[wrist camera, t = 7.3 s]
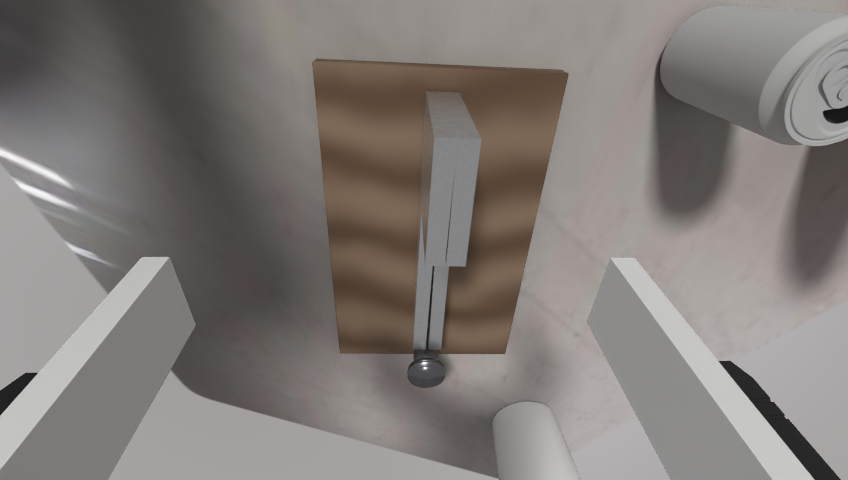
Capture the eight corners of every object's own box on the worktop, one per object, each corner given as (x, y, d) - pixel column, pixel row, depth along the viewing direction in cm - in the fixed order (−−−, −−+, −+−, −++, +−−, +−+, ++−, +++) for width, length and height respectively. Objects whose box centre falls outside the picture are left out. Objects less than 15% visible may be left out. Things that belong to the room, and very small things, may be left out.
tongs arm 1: (424, 326, 41) (429, 415, 33) (412, 326, 41) (414, 415, 33) (442, 91, 29) (458, 138, 20) (425, 91, 29) (434, 137, 20)
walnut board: (316, 58, 29) (312, 62, 28) (561, 69, 30) (568, 73, 29) (341, 342, 45) (339, 353, 43) (502, 343, 46) (504, 353, 44)
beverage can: (680, 115, 32) (806, 177, 22) (638, 57, 30) (757, 96, 20) (759, 51, 30) (940, 86, 20) (720, -19, 27) (904, -19, 17)
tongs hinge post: (440, 349, 43) (443, 388, 39) (406, 349, 43) (407, 388, 39) (442, 325, 42) (446, 363, 37) (407, 324, 41) (408, 363, 37)
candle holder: (511, 388, 50) (538, 491, 40) (574, 407, 53) (614, 508, 43) (472, 431, 55) (487, 533, 45) (532, 446, 57) (559, 546, 47)
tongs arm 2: (438, 326, 41) (447, 415, 33) (427, 326, 41) (432, 415, 33) (459, 92, 29) (481, 138, 20) (442, 91, 29) (457, 138, 20)
